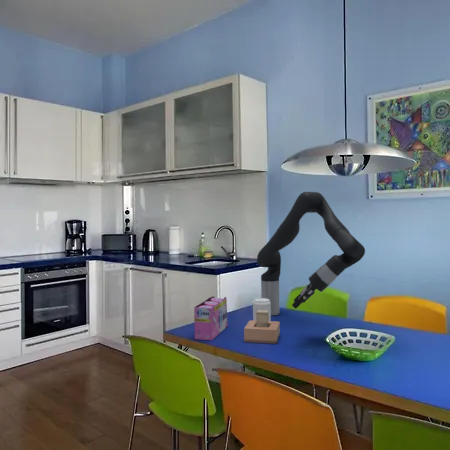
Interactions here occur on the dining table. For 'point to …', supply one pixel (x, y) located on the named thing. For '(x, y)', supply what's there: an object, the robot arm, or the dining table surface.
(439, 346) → the dining table surface
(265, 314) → the post
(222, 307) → the gum box
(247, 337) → the well
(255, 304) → the beverage can
